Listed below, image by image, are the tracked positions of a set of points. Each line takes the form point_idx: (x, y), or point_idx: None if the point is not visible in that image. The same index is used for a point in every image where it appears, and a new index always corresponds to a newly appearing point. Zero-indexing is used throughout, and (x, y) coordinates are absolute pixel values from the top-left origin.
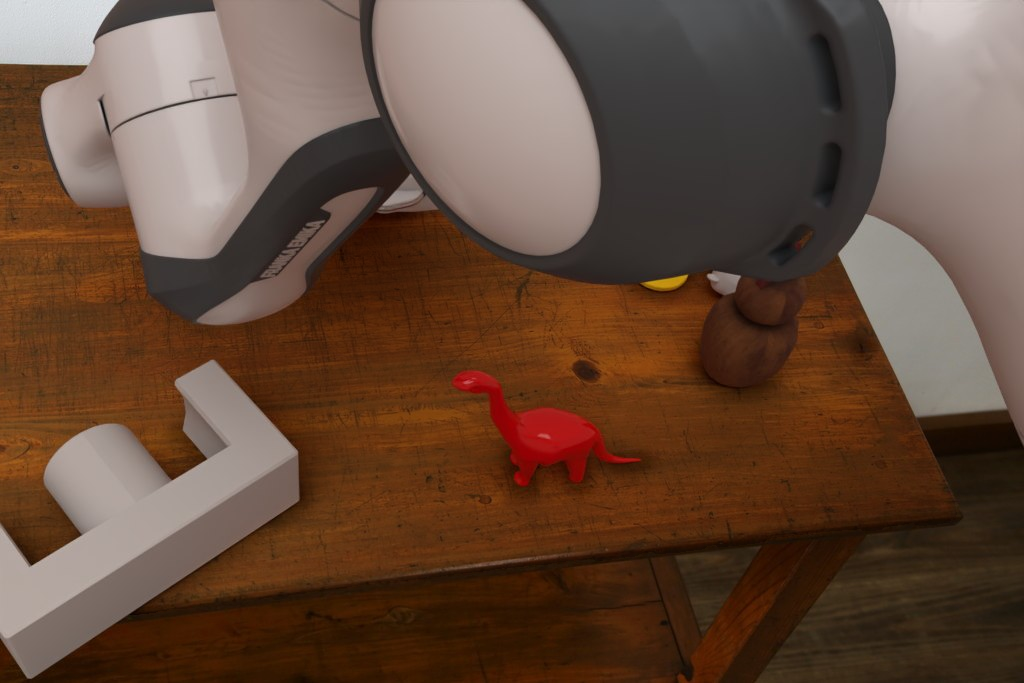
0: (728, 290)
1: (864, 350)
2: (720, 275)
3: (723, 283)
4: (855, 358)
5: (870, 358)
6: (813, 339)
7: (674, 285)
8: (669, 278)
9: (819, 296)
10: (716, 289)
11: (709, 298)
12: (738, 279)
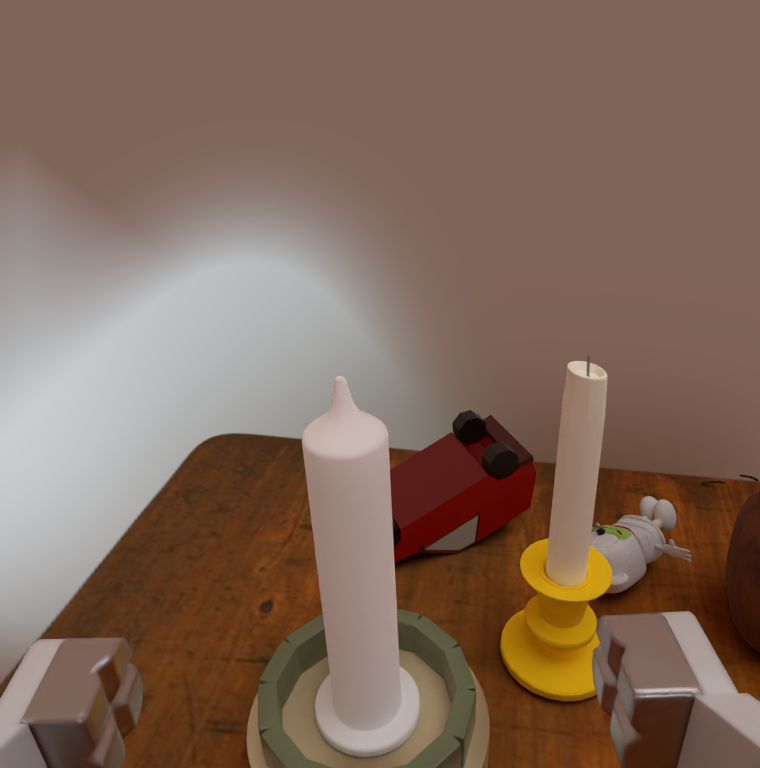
0: (640, 571)
1: (720, 481)
2: (620, 566)
3: (630, 570)
4: (727, 496)
5: (750, 476)
6: (698, 522)
7: None
8: (593, 643)
9: (616, 492)
10: (626, 587)
11: (623, 608)
12: (637, 546)
